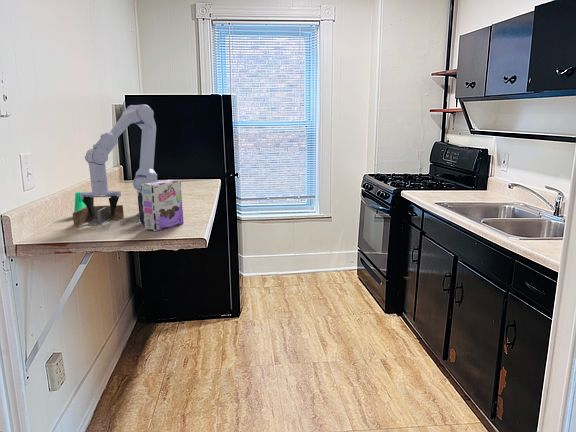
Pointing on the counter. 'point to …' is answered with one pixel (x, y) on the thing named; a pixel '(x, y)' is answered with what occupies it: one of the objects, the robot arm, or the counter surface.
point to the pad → (98, 224)
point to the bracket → (100, 216)
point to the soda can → (140, 208)
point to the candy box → (162, 204)
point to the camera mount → (78, 202)
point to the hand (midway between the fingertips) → (103, 215)
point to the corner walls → (84, 214)
